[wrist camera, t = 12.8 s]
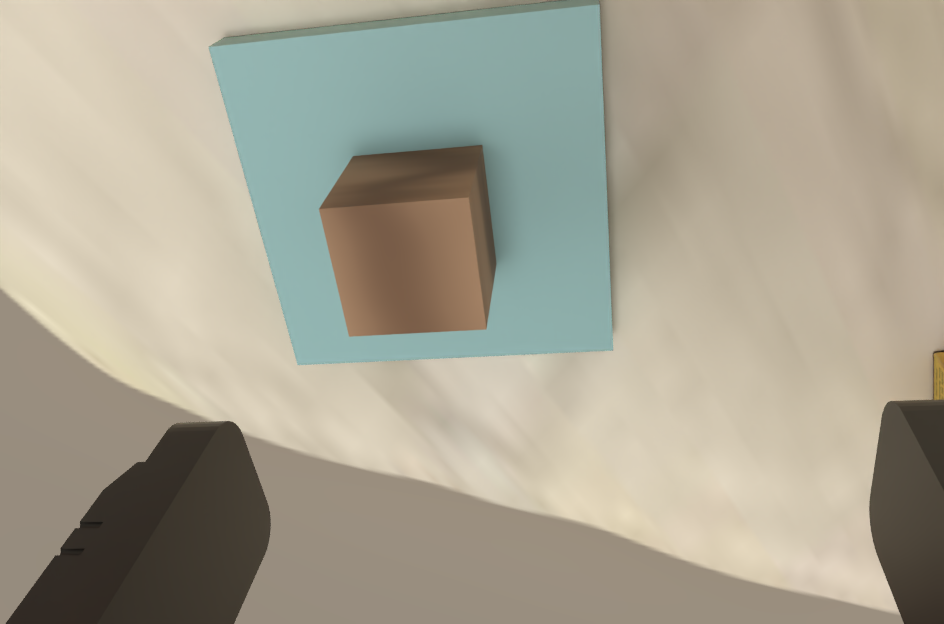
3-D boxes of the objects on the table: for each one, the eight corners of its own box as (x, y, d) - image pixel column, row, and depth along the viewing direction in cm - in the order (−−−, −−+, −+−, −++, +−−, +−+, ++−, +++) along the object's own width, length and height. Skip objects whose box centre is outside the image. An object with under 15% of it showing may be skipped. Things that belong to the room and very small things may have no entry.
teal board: (597, -4, 28) (599, 4, 27) (611, 331, 35) (613, 350, 34) (223, 37, 30) (208, 46, 29) (306, 346, 37) (297, 365, 36)
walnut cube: (482, 145, 30) (468, 197, 26) (496, 263, 32) (486, 329, 28) (352, 156, 31) (318, 208, 26) (376, 271, 33) (349, 336, 29)
